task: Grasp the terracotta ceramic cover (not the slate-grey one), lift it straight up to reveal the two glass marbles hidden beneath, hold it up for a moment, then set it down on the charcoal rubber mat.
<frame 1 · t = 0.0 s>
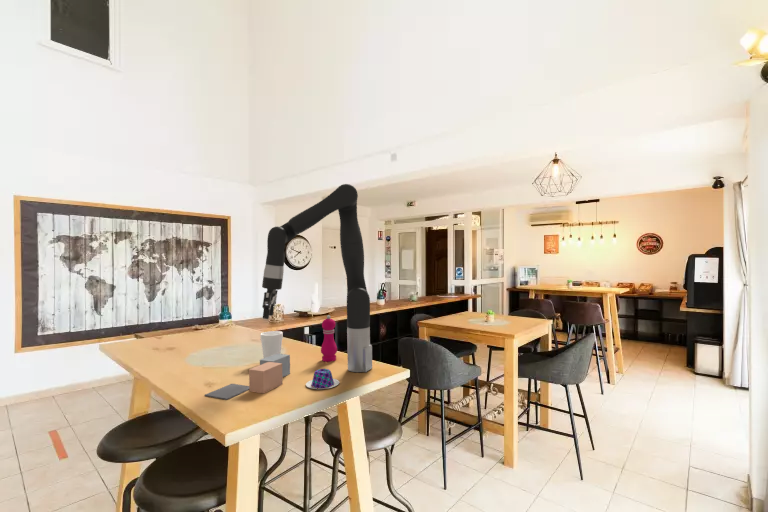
hand: (267, 317, 150), 22 cm above the table, tool pointing down, fingers open, 8 cm apart
marble 2: (262, 389, 132), on the table
pudding: (322, 385, 136), on the table
marble 1: (270, 385, 136), on the table
foam cup: (272, 363, 165), on the table
pepper mill: (329, 360, 169), on the table
mat: (229, 391, 130), on the table
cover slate: (275, 376, 146), on the table
cover terracotta: (266, 387, 134), on the table
marble 3: (275, 372, 146), in the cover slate
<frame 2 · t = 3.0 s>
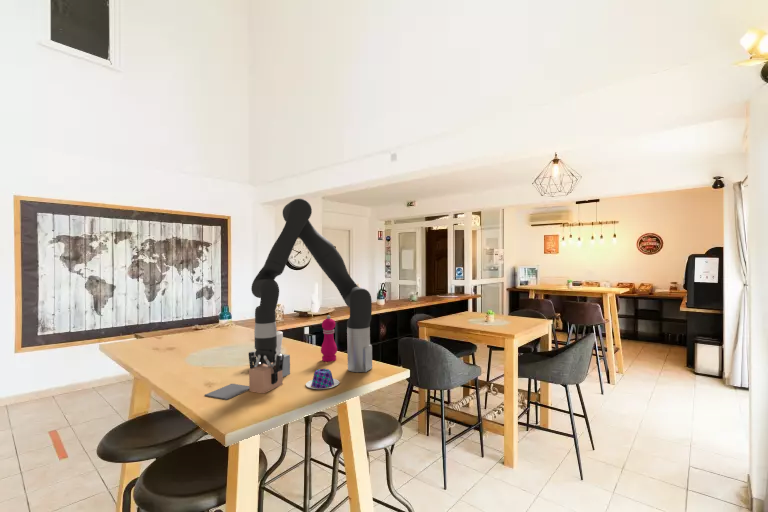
hand: (266, 382, 134), 2 cm above the table, tool pointing down, fingers closed on cover terracotta, 6 cm apart
cover terracotta: (266, 387, 134), on the table, touching gripper
everything else where it was.
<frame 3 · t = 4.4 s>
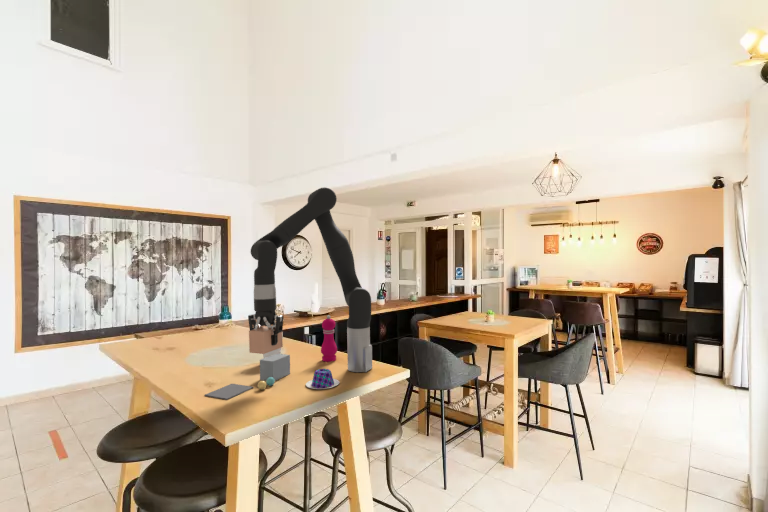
hand: (266, 344, 134), 15 cm above the table, tool pointing down, fingers closed on cover terracotta, 6 cm apart
cover terracotta: (266, 349, 134), point 13 cm above the table, touching gripper
everything else where it was.
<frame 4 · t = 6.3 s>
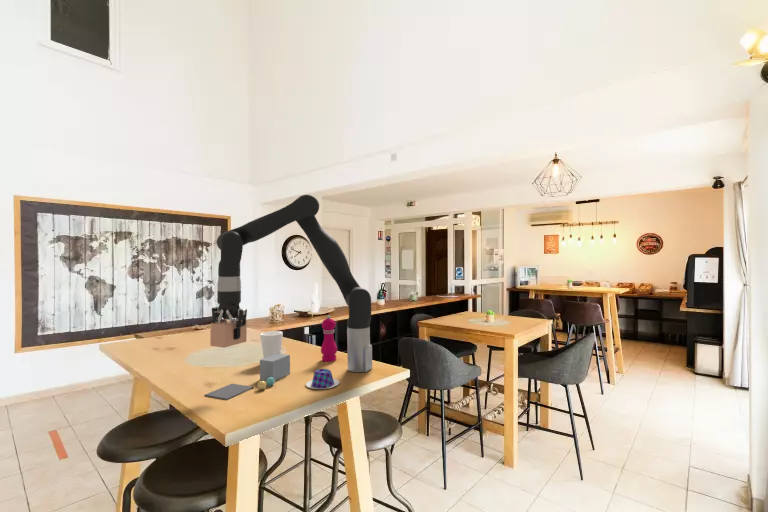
hand: (228, 338, 130), 18 cm above the table, tool pointing down, fingers closed on cover terracotta, 6 cm apart
cover terracotta: (228, 343, 130), point 17 cm above the table, touching gripper
everything else where it was.
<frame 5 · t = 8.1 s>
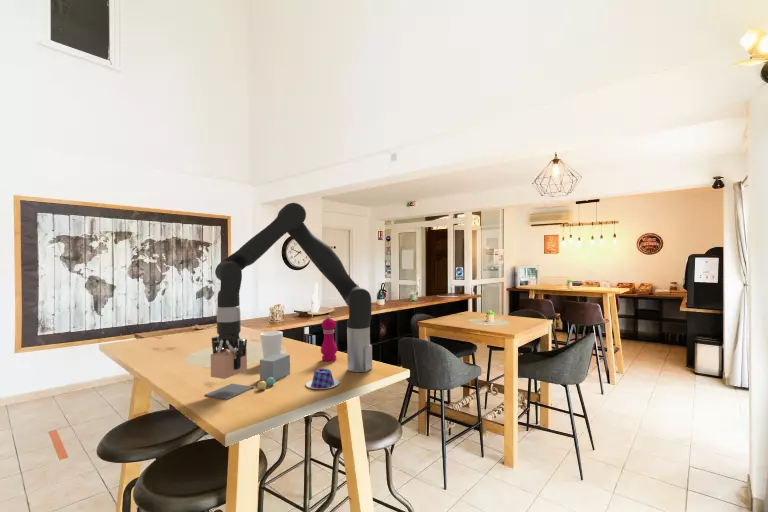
hand: (229, 368, 130), 8 cm above the table, tool pointing down, fingers closed on cover terracotta, 6 cm apart
cover terracotta: (229, 373, 130), point 6 cm above the table, touching gripper
everything else where it was.
when the fingers open (3 cm above the table, at t = 9.6 s): cover terracotta drops 1 cm, resting on mat.
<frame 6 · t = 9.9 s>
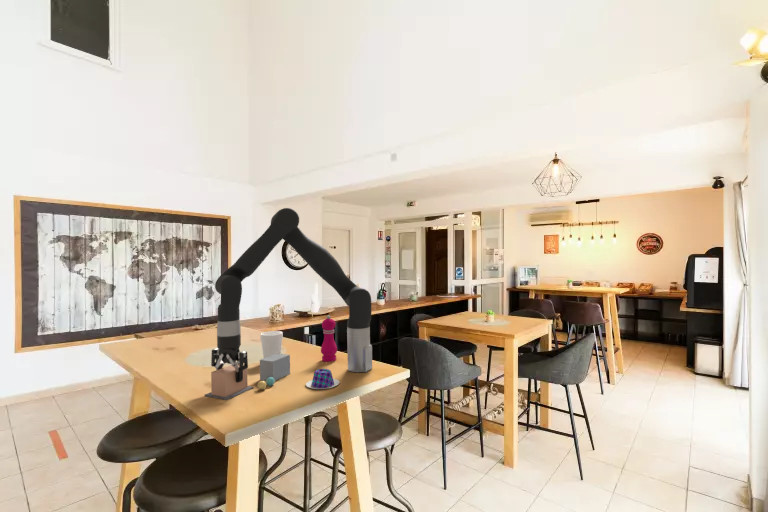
hand: (229, 380, 130), 4 cm above the table, tool pointing down, fingers open, 8 cm apart
cover terracotta: (229, 390, 130), resting on mat
everything else where it was.
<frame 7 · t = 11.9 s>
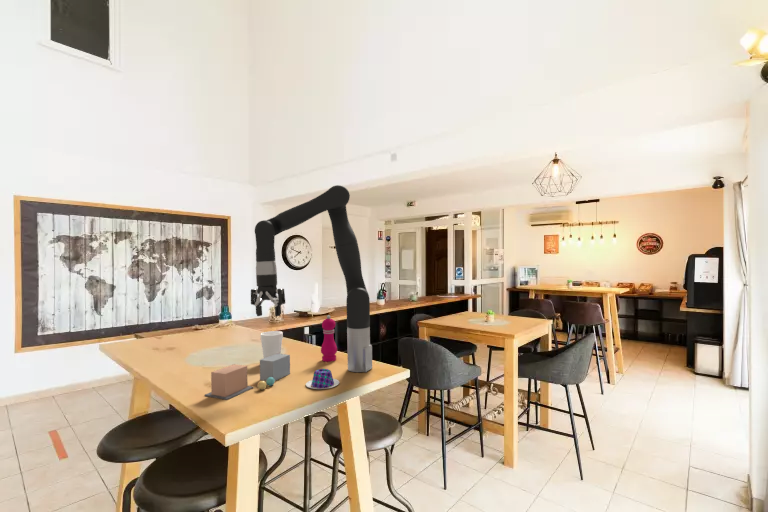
hand: (268, 315, 144), 24 cm above the table, tool pointing down, fingers open, 8 cm apart
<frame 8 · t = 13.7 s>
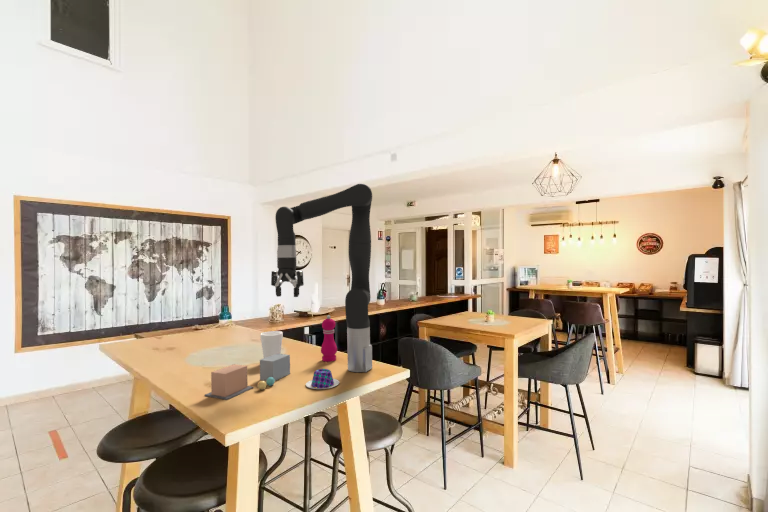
hand: (287, 296, 153), 30 cm above the table, tool pointing down, fingers open, 8 cm apart
at the end: cover terracotta inside the target area on the mat (0.1 cm from its centre), point 0.4 cm above the mat's base; cover terracotta tilted 0°; the gripper is holding nothing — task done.
